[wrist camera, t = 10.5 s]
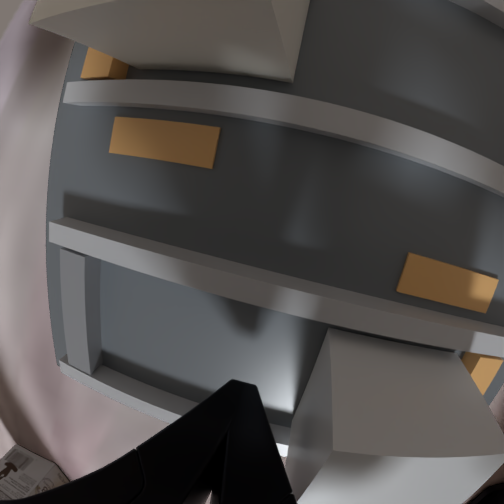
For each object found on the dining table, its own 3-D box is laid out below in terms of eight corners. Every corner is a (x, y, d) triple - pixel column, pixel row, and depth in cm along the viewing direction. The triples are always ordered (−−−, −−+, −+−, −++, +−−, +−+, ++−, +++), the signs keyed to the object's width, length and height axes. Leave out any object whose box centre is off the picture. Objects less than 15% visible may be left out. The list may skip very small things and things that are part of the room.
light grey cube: (404, 437, 8) (423, 534, 4) (292, 420, 9) (274, 530, 5) (456, 353, 7) (512, 451, 3) (328, 327, 8) (333, 450, 4)
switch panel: (436, 445, 10) (446, 479, 8) (73, 351, 11) (45, 374, 10) (557, 60, 5) (588, 49, 3) (130, -39, 7) (102, -63, 5)
